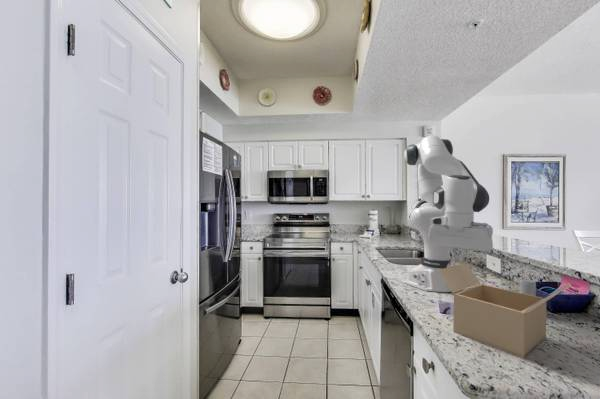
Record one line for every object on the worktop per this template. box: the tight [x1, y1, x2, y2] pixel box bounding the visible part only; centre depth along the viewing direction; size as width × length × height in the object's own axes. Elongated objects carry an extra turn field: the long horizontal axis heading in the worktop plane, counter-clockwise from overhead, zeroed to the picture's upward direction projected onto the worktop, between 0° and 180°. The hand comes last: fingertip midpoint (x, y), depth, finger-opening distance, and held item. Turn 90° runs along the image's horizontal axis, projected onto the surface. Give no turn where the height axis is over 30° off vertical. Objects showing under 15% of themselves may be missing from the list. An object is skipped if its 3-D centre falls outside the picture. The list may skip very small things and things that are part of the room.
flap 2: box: [525, 282, 573, 313], centre depth 76 cm, size 8×19×1 cm
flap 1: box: [438, 262, 481, 294], centre depth 96 cm, size 8×19×1 cm
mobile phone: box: [436, 300, 454, 318], centre depth 106 cm, size 8×1×15 cm
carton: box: [453, 283, 547, 359], centre depth 86 cm, size 18×20×12 cm
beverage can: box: [518, 278, 537, 296], centre depth 104 cm, size 5×5×12 cm
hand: (457, 260), depth 96 cm, fingers closed
